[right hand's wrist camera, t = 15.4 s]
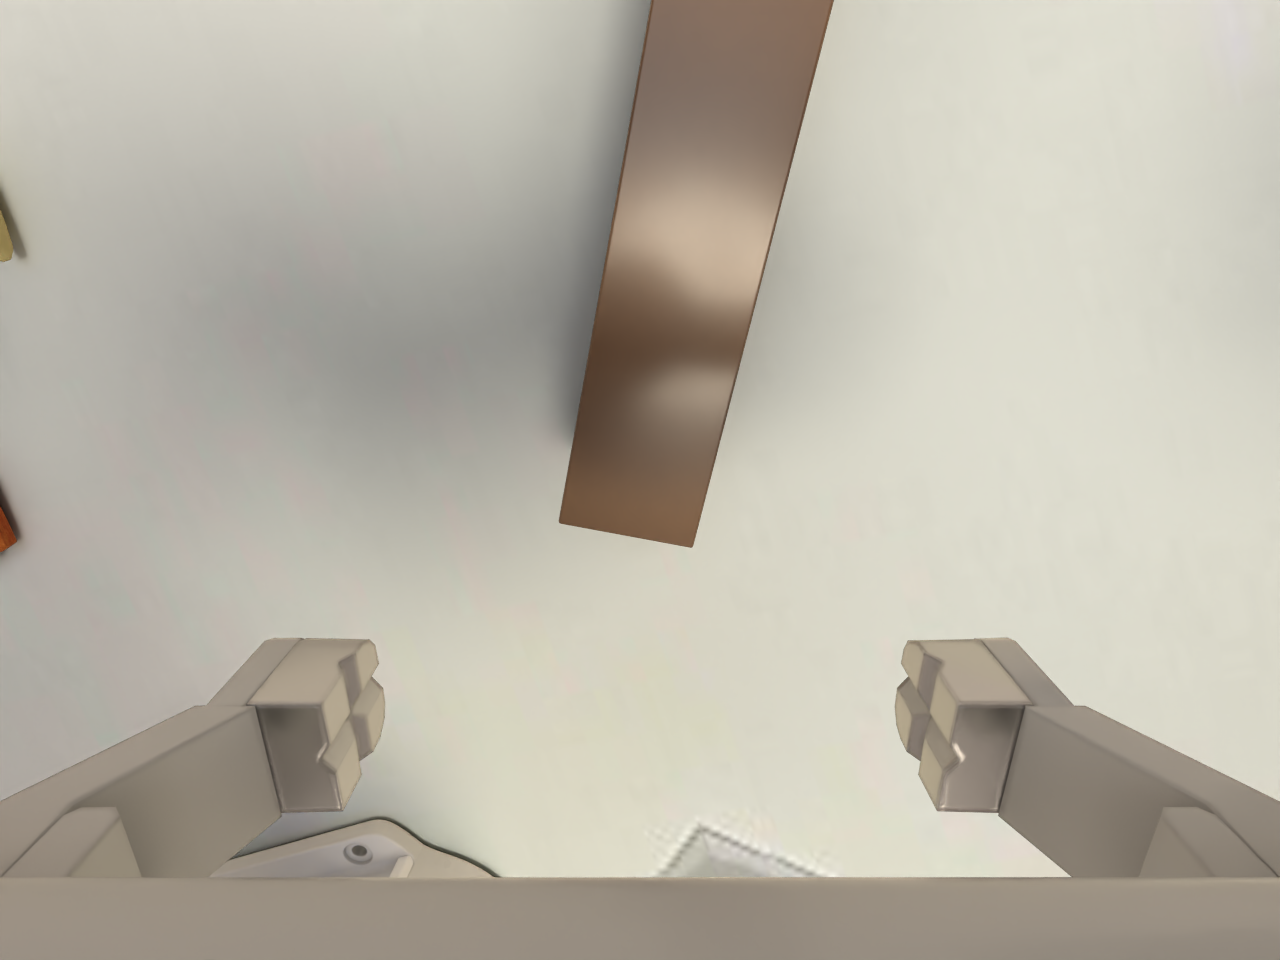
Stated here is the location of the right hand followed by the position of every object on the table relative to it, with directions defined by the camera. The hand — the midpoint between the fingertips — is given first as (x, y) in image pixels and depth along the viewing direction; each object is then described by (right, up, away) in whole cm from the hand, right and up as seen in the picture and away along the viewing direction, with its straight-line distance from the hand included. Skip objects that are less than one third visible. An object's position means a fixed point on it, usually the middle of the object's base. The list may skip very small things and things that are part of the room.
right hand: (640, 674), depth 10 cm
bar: (+2, +16, +17) cm, 24 cm away
